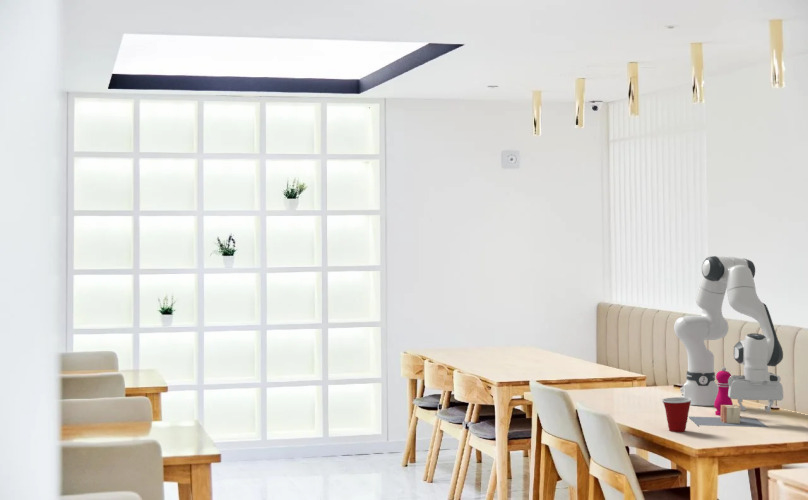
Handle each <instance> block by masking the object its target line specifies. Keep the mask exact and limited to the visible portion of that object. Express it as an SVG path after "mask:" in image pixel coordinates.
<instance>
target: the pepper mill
mask: <svg viewBox="0 0 808 500" xmlns="http://www.w3.org/2000/svg"><path fill="white" fill-rule="evenodd" d="M731 376H732V375H731V373H730V371H727V368H726V367H725V366H723V367H721V370H720V371H717V373H715V380H716V381H717V382H716V384H717V386H718V395H717V397H716V399H715V402H714V405H713V407H714V408H715V410H716V411H715V412H714V413H715V416H718V417H721V405H734V404H733V399H731V398H729V396H728V391H729V385H728V379H729V377H731ZM731 378H732V377H731Z"/></svg>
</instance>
